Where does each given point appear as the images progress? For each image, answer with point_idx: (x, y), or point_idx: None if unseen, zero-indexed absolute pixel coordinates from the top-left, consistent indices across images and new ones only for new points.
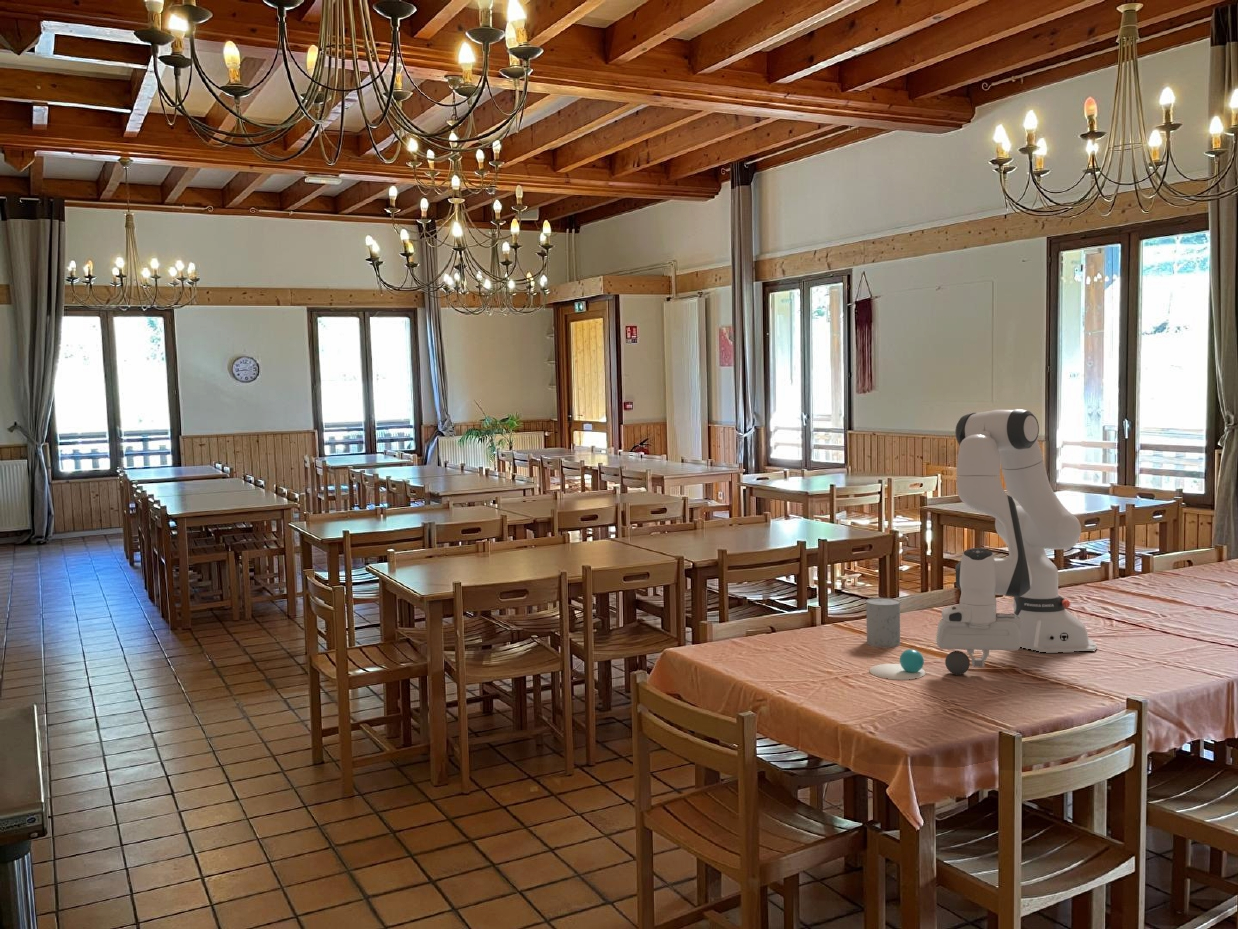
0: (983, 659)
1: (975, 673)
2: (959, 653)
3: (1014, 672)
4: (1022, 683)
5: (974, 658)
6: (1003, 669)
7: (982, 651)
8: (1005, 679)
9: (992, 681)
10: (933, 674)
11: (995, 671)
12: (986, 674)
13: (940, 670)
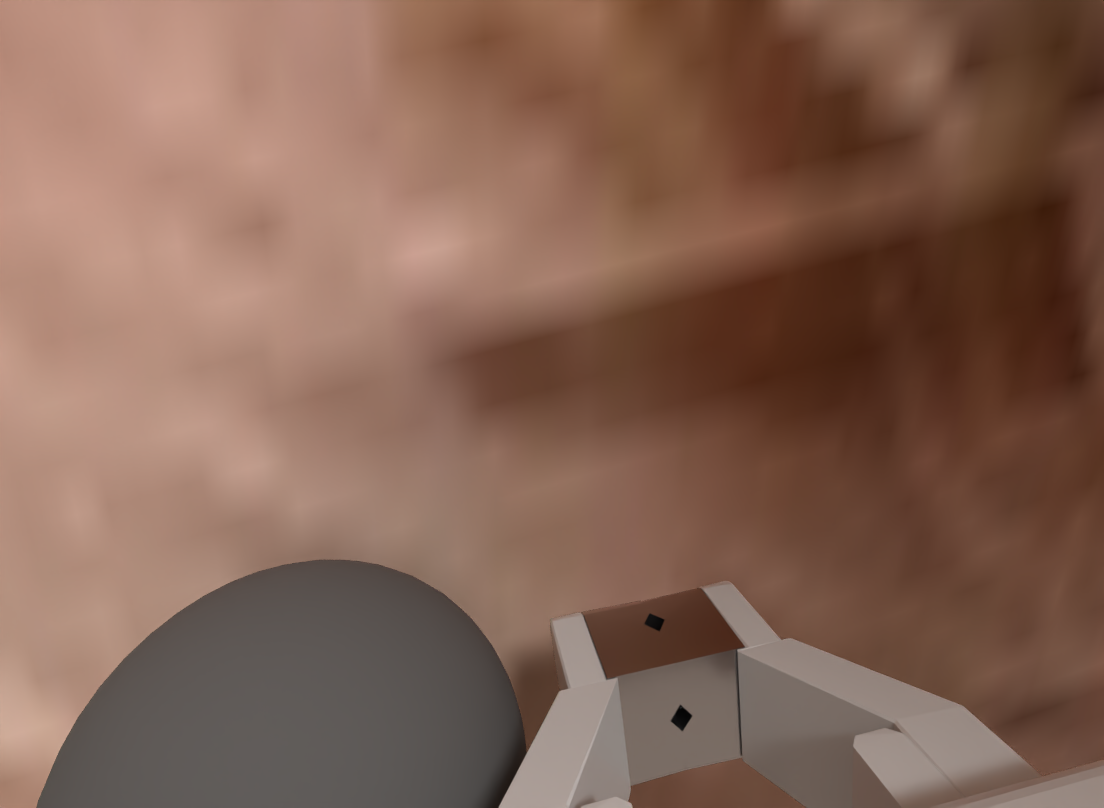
0: (777, 765)
1: (576, 532)
2: None
3: (1032, 357)
4: (1006, 729)
5: (621, 686)
6: (938, 246)
7: (859, 790)
8: (880, 658)
9: (743, 766)
10: (13, 745)
11: (827, 371)
12: (705, 535)
13: (67, 529)
